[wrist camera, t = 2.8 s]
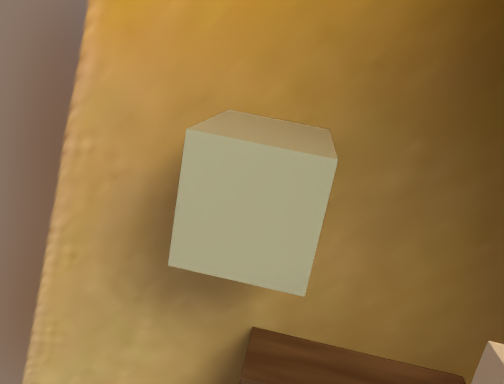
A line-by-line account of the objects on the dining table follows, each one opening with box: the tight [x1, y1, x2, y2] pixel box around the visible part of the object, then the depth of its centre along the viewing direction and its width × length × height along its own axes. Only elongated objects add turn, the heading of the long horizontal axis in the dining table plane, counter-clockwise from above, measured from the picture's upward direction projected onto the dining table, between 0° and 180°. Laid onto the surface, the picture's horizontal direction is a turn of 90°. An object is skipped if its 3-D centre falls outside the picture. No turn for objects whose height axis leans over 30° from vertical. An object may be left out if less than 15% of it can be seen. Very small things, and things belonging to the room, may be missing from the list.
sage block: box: [168, 109, 338, 297], centre depth 22 cm, size 6×6×9 cm
